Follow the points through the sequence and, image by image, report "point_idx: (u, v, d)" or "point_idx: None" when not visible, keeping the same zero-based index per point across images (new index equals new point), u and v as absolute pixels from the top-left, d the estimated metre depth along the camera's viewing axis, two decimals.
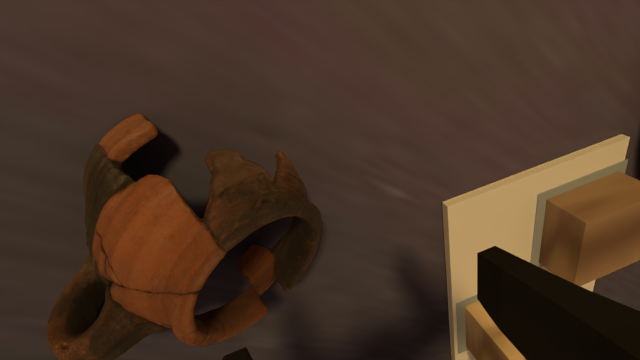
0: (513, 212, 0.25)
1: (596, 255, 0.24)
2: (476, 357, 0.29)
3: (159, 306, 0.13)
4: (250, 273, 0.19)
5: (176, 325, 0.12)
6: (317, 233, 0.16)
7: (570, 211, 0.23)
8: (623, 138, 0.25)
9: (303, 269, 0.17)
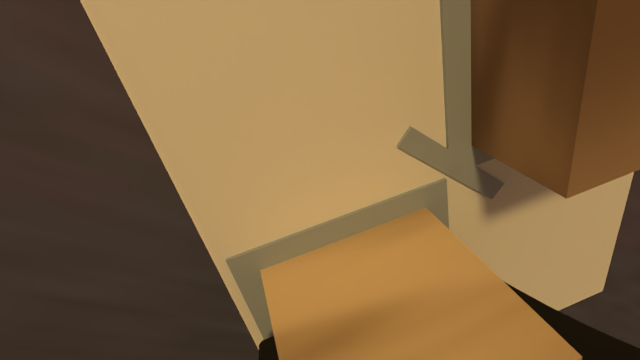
0: None
1: None
2: None
3: None
4: None
5: None
6: None
7: None
8: None
9: None
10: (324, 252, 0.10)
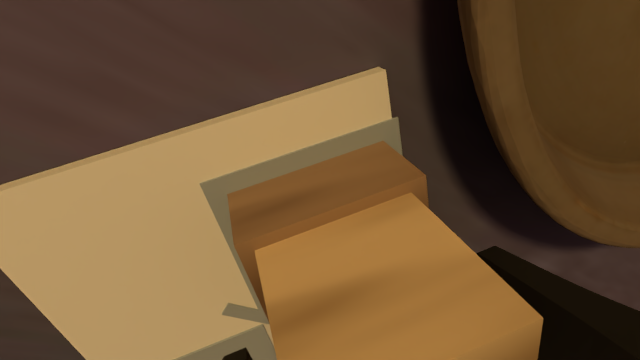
0: (156, 219, 0.12)
1: None
2: None
3: None
4: None
5: None
6: None
7: (236, 218, 0.11)
8: (373, 72, 0.12)
9: None
10: (314, 233, 0.10)
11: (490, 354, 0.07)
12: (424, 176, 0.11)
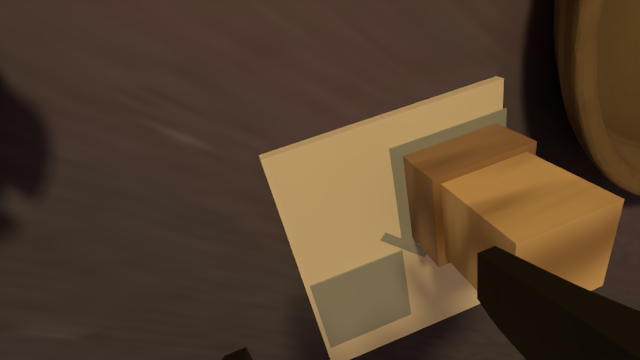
0: (360, 171, 0.20)
1: None
2: (460, 268, 0.19)
3: None
4: None
5: None
6: None
7: (421, 167, 0.19)
8: (495, 80, 0.20)
9: None
10: (475, 174, 0.18)
11: (599, 216, 0.14)
12: (535, 142, 0.19)
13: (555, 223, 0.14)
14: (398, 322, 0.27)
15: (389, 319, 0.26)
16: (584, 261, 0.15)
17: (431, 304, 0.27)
